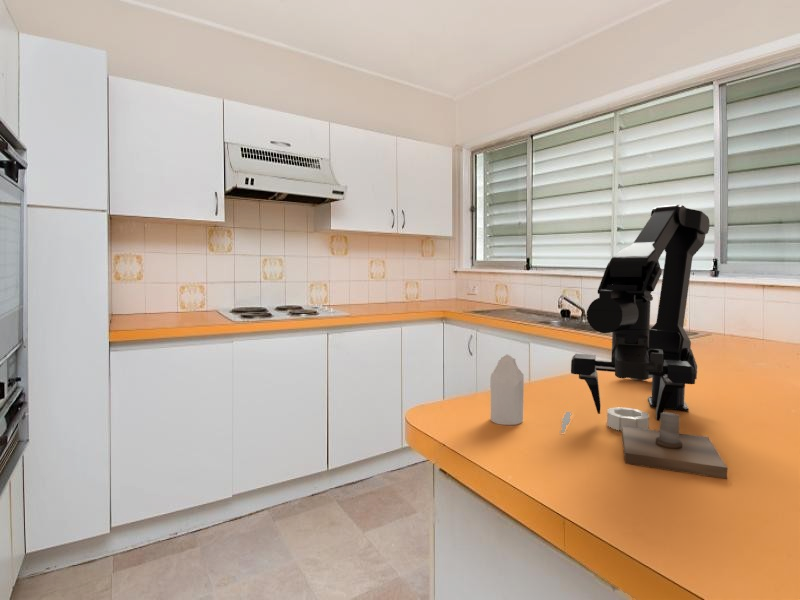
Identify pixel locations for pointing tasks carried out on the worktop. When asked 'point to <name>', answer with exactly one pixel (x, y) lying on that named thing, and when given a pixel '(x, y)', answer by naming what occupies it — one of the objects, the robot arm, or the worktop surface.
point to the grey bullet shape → (507, 392)
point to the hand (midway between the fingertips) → (627, 416)
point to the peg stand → (672, 449)
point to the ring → (627, 418)
